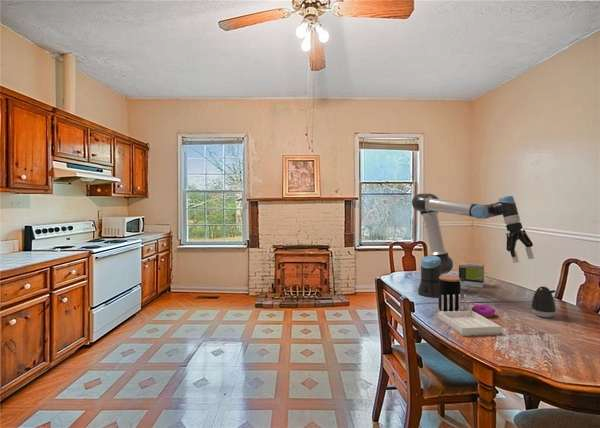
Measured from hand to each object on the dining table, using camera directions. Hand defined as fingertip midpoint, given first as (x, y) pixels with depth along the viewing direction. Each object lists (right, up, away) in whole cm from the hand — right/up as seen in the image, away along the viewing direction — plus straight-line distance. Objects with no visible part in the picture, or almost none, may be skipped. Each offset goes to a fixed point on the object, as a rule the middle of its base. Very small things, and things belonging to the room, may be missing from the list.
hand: (524, 260), depth 188 cm
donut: (-29, -27, -12) cm, 41 cm away
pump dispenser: (0, -26, -15) cm, 30 cm away
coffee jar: (-44, -26, -5) cm, 51 cm away
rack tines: (-46, -27, -16) cm, 55 cm away
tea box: (-5, -24, +48) cm, 54 cm away
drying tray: (-45, -27, -27) cm, 59 cm away
